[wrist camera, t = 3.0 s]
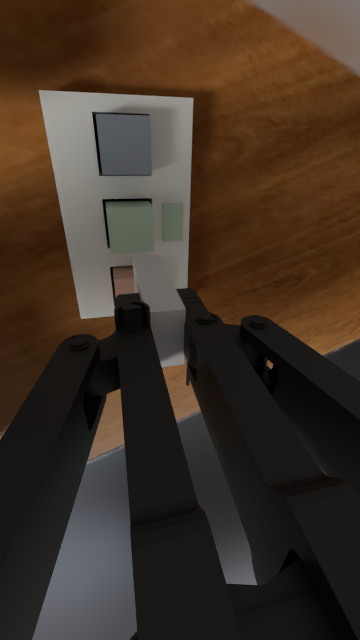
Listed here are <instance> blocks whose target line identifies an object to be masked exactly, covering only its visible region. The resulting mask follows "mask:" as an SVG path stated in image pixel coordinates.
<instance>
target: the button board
mask: <svg viewBox="0 0 360 640" xmlns="http://www.w3.org/2000/svg"><path fill="white" fill-rule="evenodd" d="M39 95H40V101H41V106H42V112H43V117H44V122H45V128H46V133H47V138H48V144H49V149H50V155H51V160H52V165H53V171H54V176H55V182H56V187H57V192H58V198H59V203H60V208H61V214H62V219H63V225H64V230H65V235H66V241H67V246H68V252H69V257H70V262H71V268H72V273H73V279H74V284H75V289H76V295H77V300H78V305H79V311H80V316H81V319H87V318H97V317H108V316H114V309H115V301H114V300H115V298H116V296H115V295H113V287H112V279H111V270H110V267H117V266H132V265H133V260H132V256H137V255H155V254H159V256H160V258H161V260H162V262H163V264H164V266H165V268H166V270H167V272H168V274H169V276H170V278H171V280H172V282H173V284H174V286H175V288H176V289H183V288H187V282H188V250H189V218H190V187H191V155H192V124H193V98H185V97H165V96H145V95H126V94H106V93H86V92H67V91H47V90H39ZM96 114H116V115H143V116H150V124H151V157H152V175H102V173H99V164H98V155H97V146H96V137H95V129H94V120H93V115H96ZM135 198H148V201H149V202H150V203H151V205H152V206H153V223H154V252H138V253H120V254H111V250H110V241H109V240H107V234H106V226H105V217H104V208H103V199H135Z"/></svg>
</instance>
